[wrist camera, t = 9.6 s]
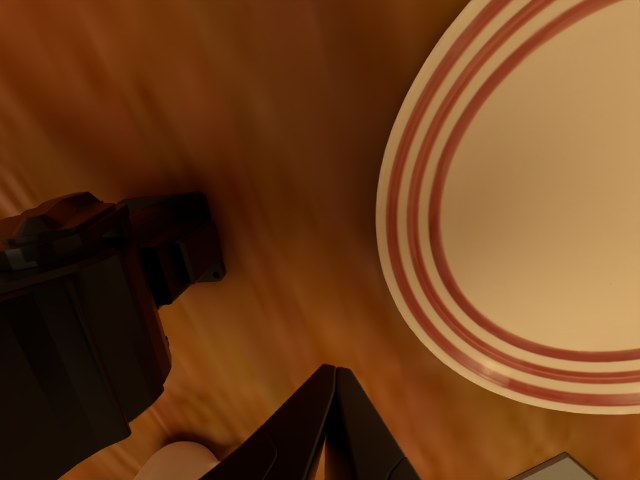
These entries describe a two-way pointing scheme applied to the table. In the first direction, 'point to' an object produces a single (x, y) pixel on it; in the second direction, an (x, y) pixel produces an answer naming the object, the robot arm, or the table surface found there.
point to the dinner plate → (523, 202)
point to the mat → (557, 470)
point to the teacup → (178, 462)
